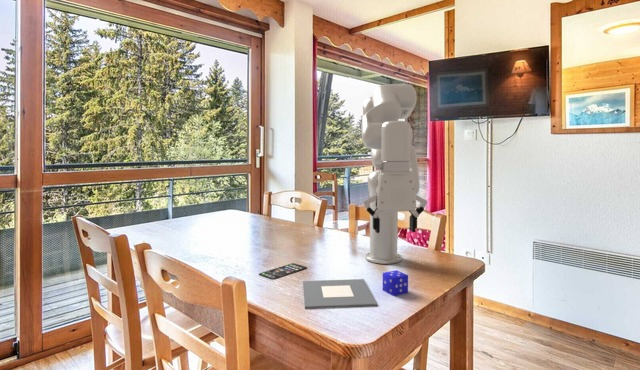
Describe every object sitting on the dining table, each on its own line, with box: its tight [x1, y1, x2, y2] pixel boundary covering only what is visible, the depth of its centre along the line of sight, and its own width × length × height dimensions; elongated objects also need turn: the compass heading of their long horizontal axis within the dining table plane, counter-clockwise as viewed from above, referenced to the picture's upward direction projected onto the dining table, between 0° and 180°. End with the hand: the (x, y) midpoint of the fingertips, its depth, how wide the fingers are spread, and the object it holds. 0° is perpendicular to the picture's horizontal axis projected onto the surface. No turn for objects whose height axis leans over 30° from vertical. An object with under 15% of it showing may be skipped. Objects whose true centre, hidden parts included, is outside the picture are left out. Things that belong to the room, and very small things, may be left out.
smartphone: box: [258, 262, 308, 281], centre depth 122 cm, size 7×1×15 cm
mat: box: [302, 278, 378, 309], centre depth 103 cm, size 18×18×1 cm
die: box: [382, 269, 409, 297], centre depth 104 cm, size 5×5×5 cm
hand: (394, 231), depth 102 cm, fingers open, 9 cm apart
